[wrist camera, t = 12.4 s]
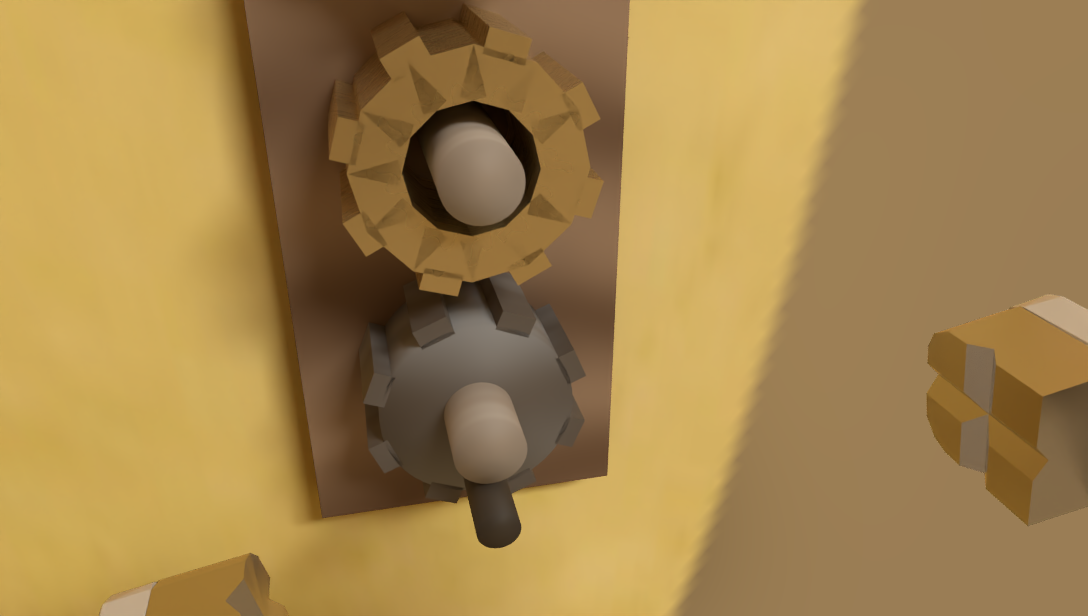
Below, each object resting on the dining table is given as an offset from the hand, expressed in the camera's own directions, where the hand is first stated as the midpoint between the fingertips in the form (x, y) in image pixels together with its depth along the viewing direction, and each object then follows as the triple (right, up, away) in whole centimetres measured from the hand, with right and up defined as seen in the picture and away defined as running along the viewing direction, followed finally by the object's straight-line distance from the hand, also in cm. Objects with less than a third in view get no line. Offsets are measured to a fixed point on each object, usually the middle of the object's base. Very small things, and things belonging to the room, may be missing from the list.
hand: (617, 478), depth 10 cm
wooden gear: (-3, +7, +14) cm, 16 cm away
